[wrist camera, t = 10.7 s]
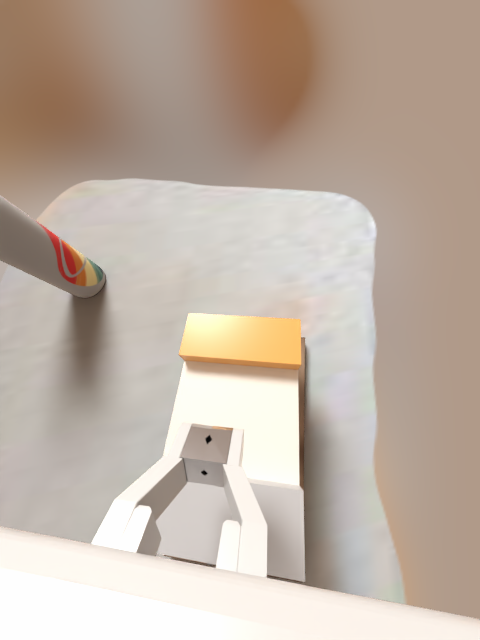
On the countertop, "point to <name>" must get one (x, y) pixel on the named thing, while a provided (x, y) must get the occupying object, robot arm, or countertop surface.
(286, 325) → the block
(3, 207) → the lotion bottle
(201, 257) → the countertop surface
